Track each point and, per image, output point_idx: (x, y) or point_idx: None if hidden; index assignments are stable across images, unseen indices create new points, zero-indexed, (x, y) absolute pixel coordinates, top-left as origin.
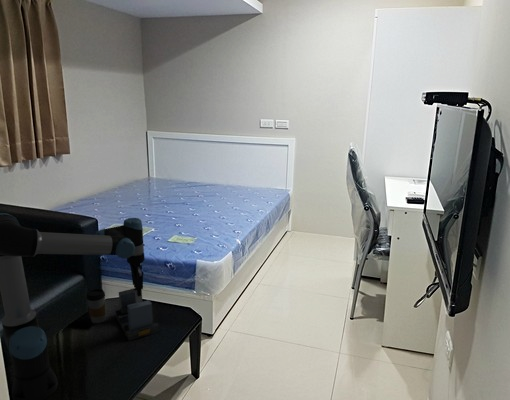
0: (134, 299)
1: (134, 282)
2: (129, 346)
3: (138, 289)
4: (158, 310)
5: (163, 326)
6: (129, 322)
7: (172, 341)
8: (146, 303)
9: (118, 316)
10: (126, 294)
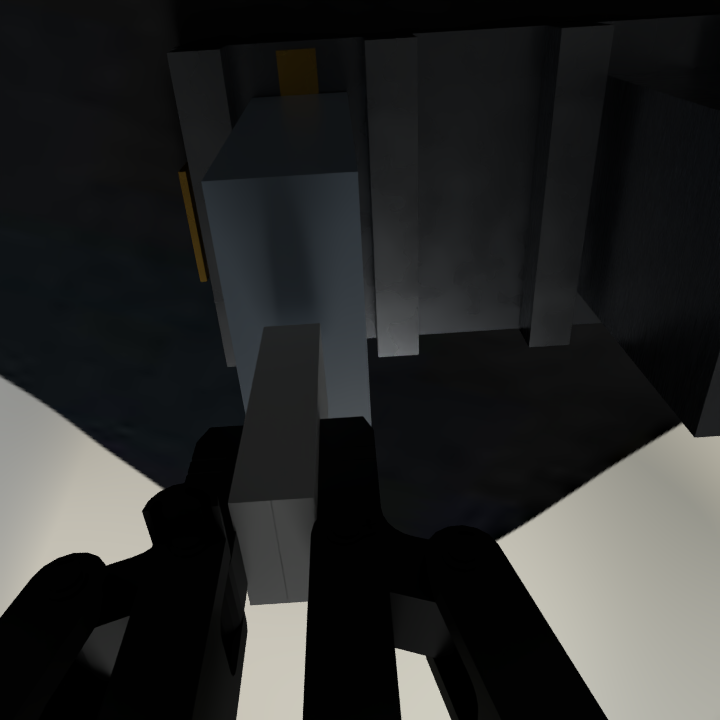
0: (665, 291)
1: (307, 656)
2: (78, 31)
3: (37, 598)
4: (561, 399)
5: None
6: (291, 116)
7: (61, 385)
8: None
9: (610, 25)
10: None
